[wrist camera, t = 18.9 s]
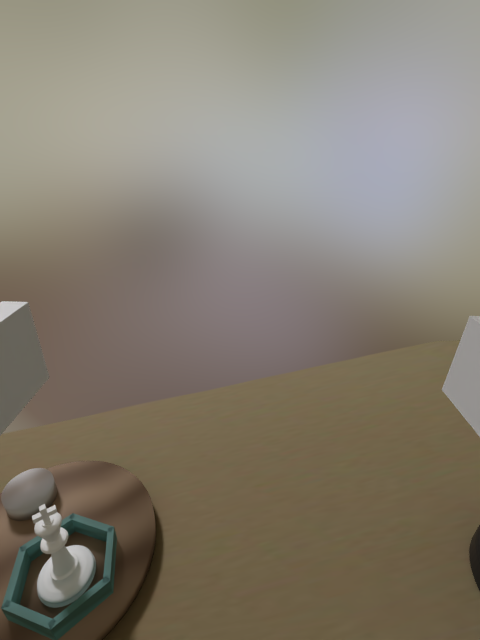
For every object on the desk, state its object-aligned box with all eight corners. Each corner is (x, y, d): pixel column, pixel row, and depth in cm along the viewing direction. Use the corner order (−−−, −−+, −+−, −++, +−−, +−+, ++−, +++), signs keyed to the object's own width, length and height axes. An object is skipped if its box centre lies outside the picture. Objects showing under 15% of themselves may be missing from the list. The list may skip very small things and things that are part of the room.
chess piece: (102, 583, 31) (82, 515, 27) (42, 621, 28) (8, 553, 24) (88, 538, 35) (68, 470, 30) (33, 568, 32) (3, 499, 27)
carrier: (193, 555, 35) (192, 535, 33) (-52, 780, 22) (-73, 765, 21) (106, 443, 47) (102, 425, 46) (-82, 547, 35) (-97, 526, 33)
